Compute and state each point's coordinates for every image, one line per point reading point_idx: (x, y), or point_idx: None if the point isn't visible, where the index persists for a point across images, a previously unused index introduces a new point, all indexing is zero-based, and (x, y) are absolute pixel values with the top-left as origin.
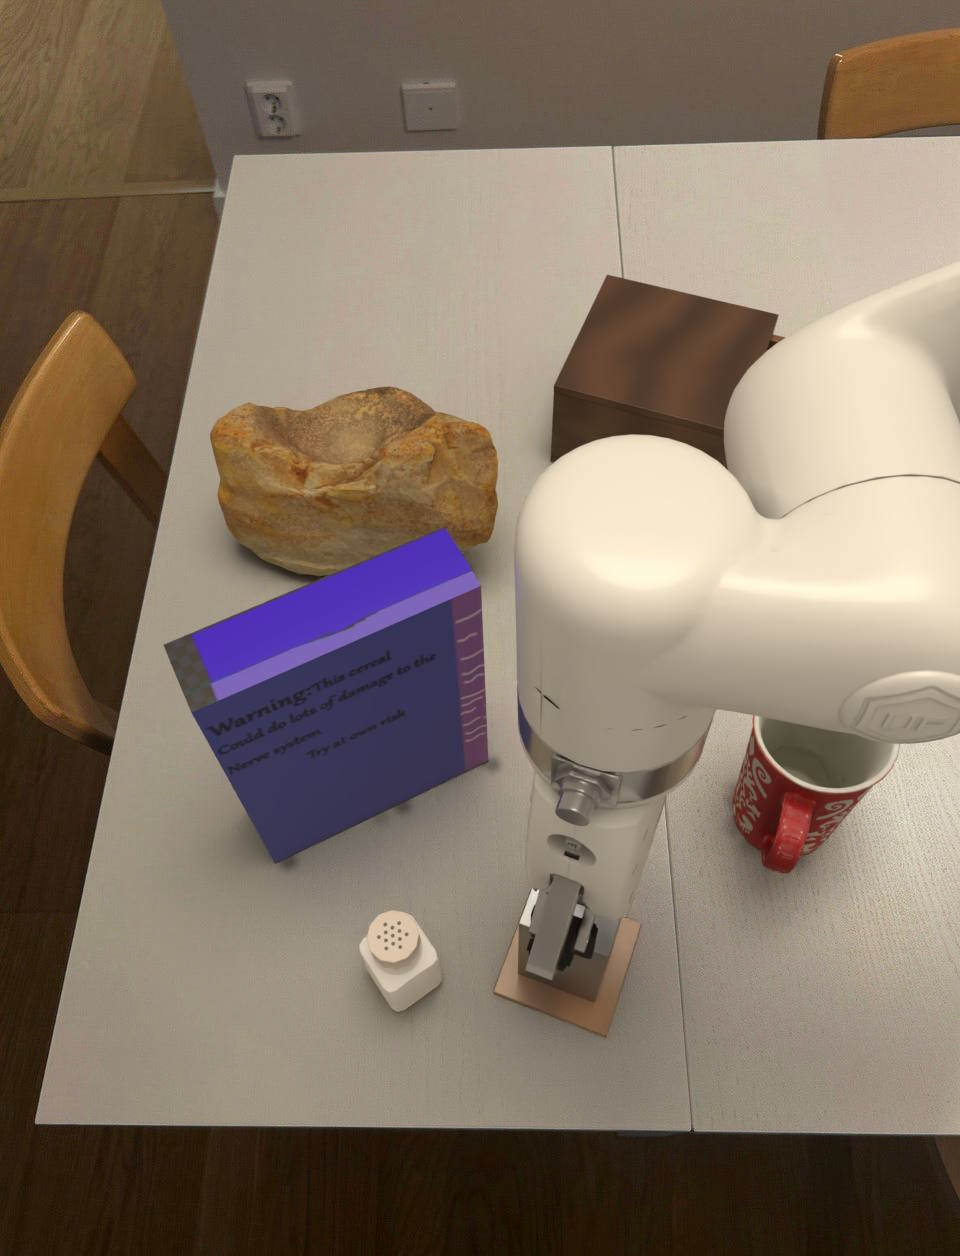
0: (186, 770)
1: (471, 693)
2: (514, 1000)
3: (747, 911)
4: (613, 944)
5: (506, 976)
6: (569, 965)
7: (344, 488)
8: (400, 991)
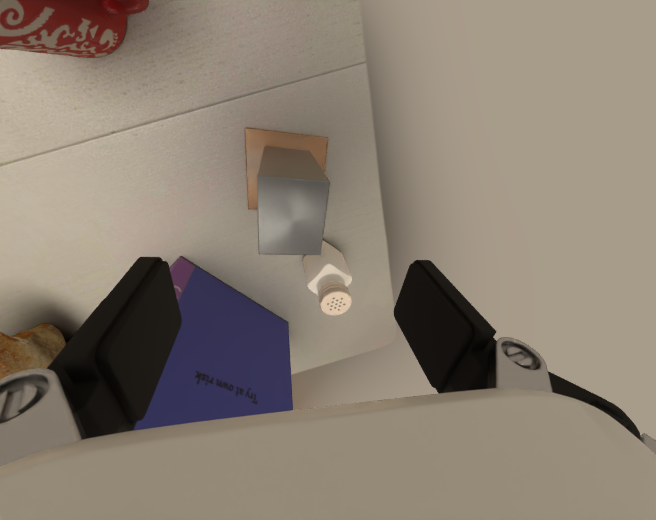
0: None
1: None
2: None
3: (194, 27)
4: (277, 152)
5: None
6: (625, 414)
7: None
8: (348, 272)
